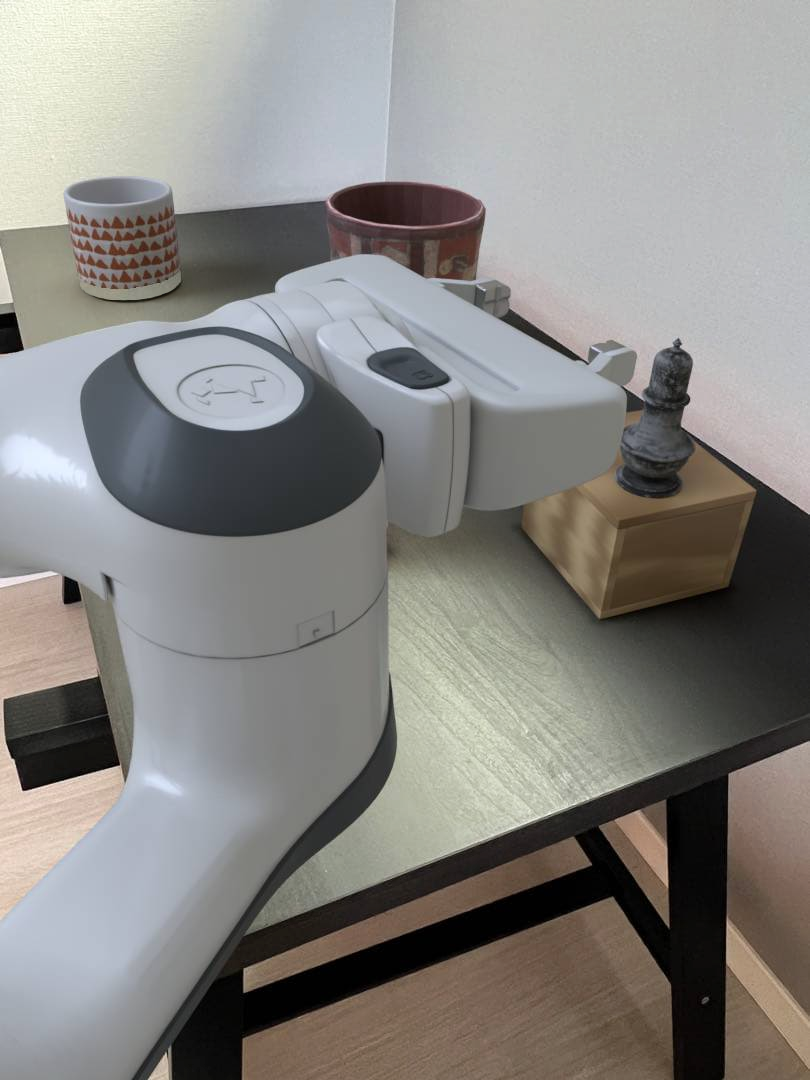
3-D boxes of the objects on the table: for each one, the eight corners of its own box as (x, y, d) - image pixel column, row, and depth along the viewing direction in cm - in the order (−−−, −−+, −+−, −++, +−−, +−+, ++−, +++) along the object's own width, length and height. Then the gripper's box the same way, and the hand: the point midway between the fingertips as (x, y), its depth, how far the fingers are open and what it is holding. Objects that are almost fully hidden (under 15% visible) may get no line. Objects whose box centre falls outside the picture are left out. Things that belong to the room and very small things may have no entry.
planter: (202, 284, 131) (193, 190, 124) (118, 311, 123) (103, 211, 115) (142, 259, 138) (130, 169, 131) (59, 283, 130) (42, 188, 122)
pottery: (345, 391, 106) (344, 231, 96) (315, 329, 120) (311, 183, 110) (493, 377, 111) (508, 222, 100) (448, 318, 124) (457, 177, 114)
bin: (521, 527, 86) (531, 443, 81) (639, 502, 90) (656, 420, 85) (599, 619, 76) (617, 530, 71) (728, 587, 80) (754, 500, 75)
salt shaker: (603, 489, 73) (629, 345, 66) (619, 454, 78) (645, 316, 71) (679, 507, 72) (714, 361, 65) (691, 471, 76) (725, 330, 69)
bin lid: (526, 438, 81) (527, 429, 81) (650, 416, 85) (652, 407, 85) (617, 529, 70) (619, 520, 70) (754, 499, 74) (757, 490, 74)
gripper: (229, 364, 51) (438, 314, 57) (453, 560, 37) (695, 466, 44) (219, 248, 47) (444, 209, 54) (465, 419, 34) (726, 339, 40)
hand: (559, 325), depth 48 cm, fingers open, 8 cm apart
